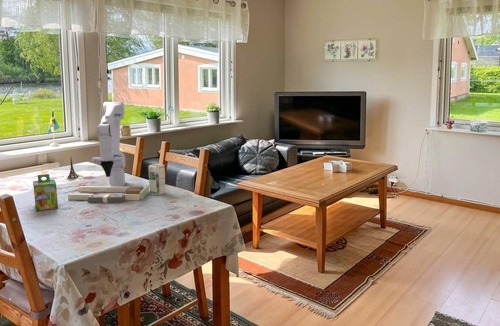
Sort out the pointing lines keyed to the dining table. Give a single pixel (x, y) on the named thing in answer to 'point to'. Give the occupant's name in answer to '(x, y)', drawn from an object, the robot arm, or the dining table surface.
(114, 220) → the dining table surface
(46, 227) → the dining table surface
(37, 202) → the chalk box
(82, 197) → the trap lane
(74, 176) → the eiffel tower figurine
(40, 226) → the dining table surface
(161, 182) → the syrup box
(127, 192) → the walnut block
